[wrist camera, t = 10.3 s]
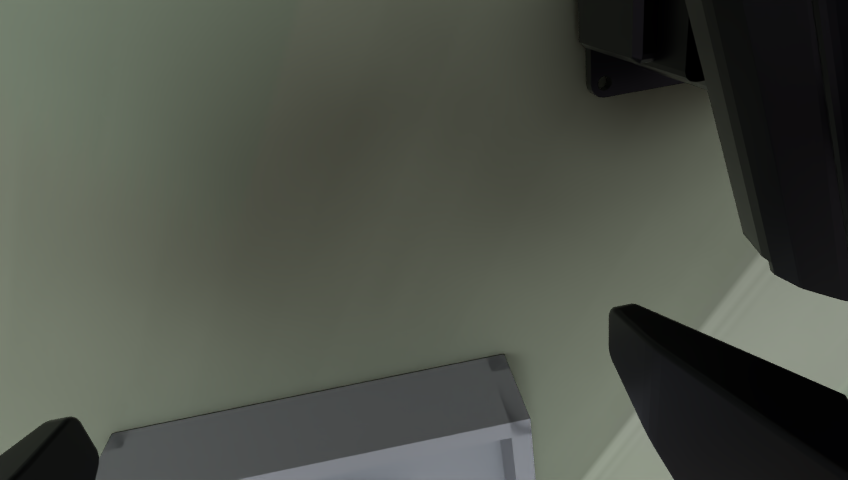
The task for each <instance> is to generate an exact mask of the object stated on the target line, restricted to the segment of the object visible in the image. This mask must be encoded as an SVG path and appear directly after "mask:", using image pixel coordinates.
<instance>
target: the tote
mask: <svg viewBox="0 0 848 480" xmlns="http://www.w3.org/2000/svg"><path fill="white" fill-rule="evenodd" d="M95 480H535V469H534V457H533V445H532V433H531V422H530V417H529V414H528V412H527V409H526V407H525V404H524V402H523V400H522V397H521V395H520V392H519V390H518V387H517V385H516V382H515V380H514V377H513V375H512V372H511V370H510V368H509V365H508V363H507V360H506V358H505V355H504V354H502V355H497V356H492V357H487V358H483V359H478V360H473V361H468V362H463V363H458V364H453V365H448V366H443V367H438V368H433V369H428V370H423V371H418V372H414V373H409V374H404V375H399V376H394V377H389V378H384V379H379V380H374V381H369V382H364V383H359V384H354V385H349V386H345V387H340V388H335V389H330V390H325V391H320V392H315V393H310V394H305V395H300V396H295V397H290V398H285V399H280V400H276V401H271V402H266V403H261V404H256V405H251V406H246V407H241V408H236V409H231V410H226V411H221V412H216V413H211V414H207V415H202V416H197V417H192V418H187V419H182V420H177V421H172V422H167V423H162V424H157V425H152V426H147V427H142V428H138V429H133V430H128V431H123V432H118V433H113V434H112V435H111V437H110V439H109V441H108V442H107V444H106V446H105V448H104V450H103V452H102V454H101V456H100V458H99V467H98V471H97V475H96V479H95Z"/></svg>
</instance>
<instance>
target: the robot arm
mask: <svg viewBox="0 0 848 480" xmlns="http://www.w3.org/2000/svg"><path fill="white" fill-rule="evenodd" d="M578 11H579V42H580V43H581V44H582V45H583V46H585V47H586V77H587V88H588V90H589V91H590V92H591V93H592V94H594V95H596V96H598V97H609V96H615V95H620V94H626V93H631V92H637V91H642V90H647V89H653V88H658V87H664V86H669V85H675V84H680V83H688V84H691V85H694V86H697V87H700V88H703V89H706V90H708V94H709V98H710V102H711V106H712V110H713V114H714V118H715V122H716V126H717V130H718V134H719V138H720V142H721V146H722V150H723V154H724V158H725V162H726V166H727V170H728V174H729V178H730V182H731V186H732V190H733V194H734V198H735V202H736V206H737V210H738V214H739V218H740V222H741V226H742V230H743V234H744V235H745V236H746V237H747V239H748V240H749V241H750V242H751V244H752V245H753V246H754V247H755V248H756V250H757V251H758V252H759V253H760V255H761V256H762V257H764V258H765V259H767V260H768V261H769V266H770V270H771V271H772V272H773V273H774V275H776V276H778V277H780V278H782V279H784V280H786V281H788V282H790V283H792V284H794V285H796V286H798V287H800V288H802V289H805V290H809V291H812V292H816V293H819V294H823V295H826V296H829V297H833V298H836V299H840V300H844V301H848V0H578ZM603 76H606V77H607V83H606V85H605V86H604V87H602V88H599V87H598V81H599V79H600V78H601V77H603ZM609 352H610V356H611V359H612V361H613V363H614V365H615V368H616V370H617V372H618V374H619V376H620V378H621V380H622V383H623V385H624V387H625V389H626V391H627V393H628V395H629V397H630V400H631V402H632V404H633V406H634V408H635V410H636V412H637V415H638V417H639V419H640V421H641V423H642V425H643V427H644V429H645V431H646V433H647V435H648V437H649V439H650V441H651V442H652V444H653V446H654V448H655V449H656V451H657V453H658V454H659V456H660V457H661V459H662V461H663V462H664V464H665V466H666V467H667V469H668V471H669V472H670V474H671V475H672V477H673V479H674V480H848V399H847V397H846V396H845V395H844V394H842V393H839V392H837V391H835V390H833V389H830V388H828V387H826V386H823V385H821V384H819V383H816V382H814V381H812V380H810V379H807V378H805V377H803V376H800V375H798V374H796V373H793V372H791V371H789V370H787V369H784V368H782V367H780V366H777V365H775V364H773V363H770V362H768V361H766V360H764V359H761V358H759V357H757V356H754V355H752V354H750V353H748V352H745V351H743V350H741V349H738V348H736V347H734V346H731V345H729V344H727V343H725V342H722V341H720V340H718V339H715V338H713V337H711V336H708V335H706V334H704V333H702V332H699V331H697V330H695V329H692V328H690V327H688V326H685V325H683V324H681V323H679V322H676V321H674V320H672V319H669V318H667V317H665V316H662V315H660V314H658V313H656V312H653V311H651V310H649V309H646V308H644V307H642V306H640V305H637V304H627V305H622V306H617V307H613V308H612V309H611V310H610V313H609ZM98 467H99V455H98V452H97V449H96V447H95V446H94V444H93V442H92V441H91V439H90V437H89V436H88V434H87V432H86V431H85V429H84V427H83V426H82V424H81V422H80V421H79V420H78V419H77V418H75V417H65V418H60V419H55V420H50V421H47V422H45V423H43V424H42V425H41V426H39V427H38V428H37V429H35V430H34V431H33V432H31V433H30V434H28V435H27V436H26V437H24V438H23V439H22V440H20V441H19V442H18V443H16V444H15V445H14V446H12V447H11V448H10V449H8V450H7V451H6V452H4V453H3V454H2V455H0V480H95V479H96V475H97V471H98Z"/></svg>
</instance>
